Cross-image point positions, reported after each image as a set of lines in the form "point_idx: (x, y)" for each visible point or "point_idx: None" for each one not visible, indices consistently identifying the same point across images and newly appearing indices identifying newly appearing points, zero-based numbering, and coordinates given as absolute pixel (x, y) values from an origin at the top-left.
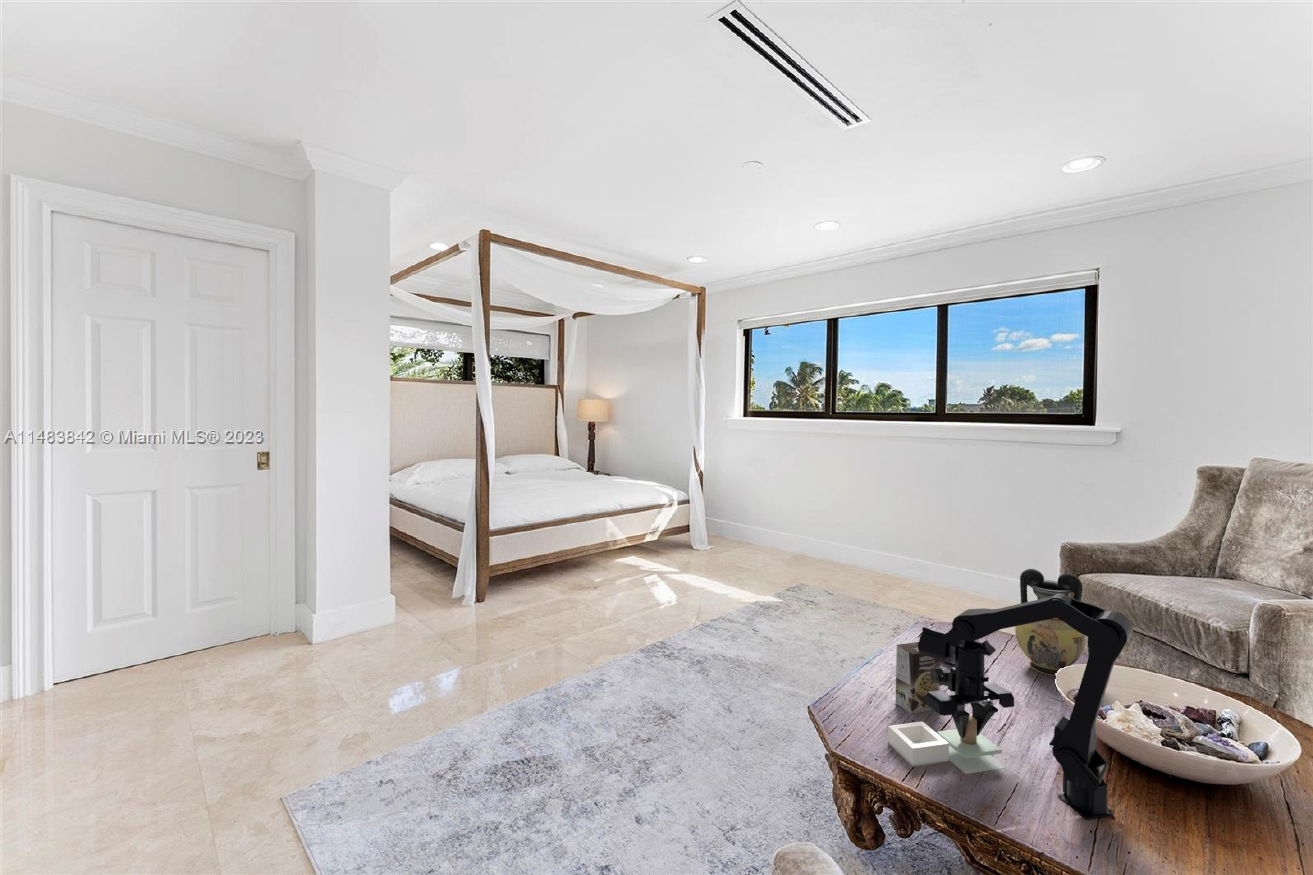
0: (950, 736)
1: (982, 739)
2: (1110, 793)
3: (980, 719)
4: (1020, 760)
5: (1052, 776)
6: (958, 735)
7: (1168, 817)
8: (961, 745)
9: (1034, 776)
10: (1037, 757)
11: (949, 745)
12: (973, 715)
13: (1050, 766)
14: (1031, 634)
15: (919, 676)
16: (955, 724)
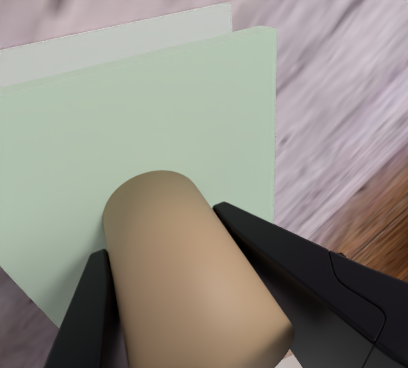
0: (27, 190)
1: (245, 189)
2: (384, 234)
3: (312, 363)
4: (323, 143)
5: (337, 206)
6: (107, 168)
7: (395, 267)
8: (80, 275)
9: (295, 216)
10: (383, 119)
11: (54, 55)
12: (313, 308)
13: (372, 162)
14: None
15: None
16: (55, 347)
